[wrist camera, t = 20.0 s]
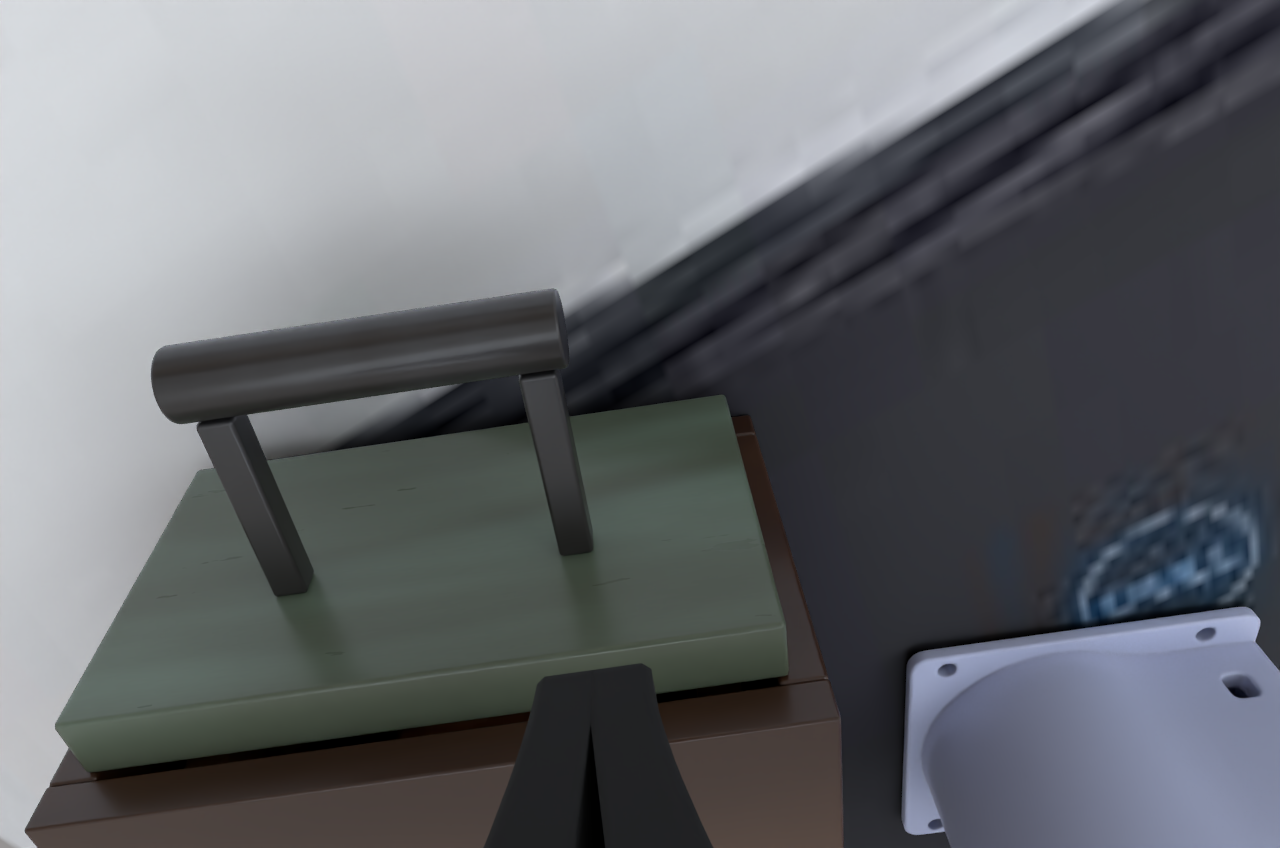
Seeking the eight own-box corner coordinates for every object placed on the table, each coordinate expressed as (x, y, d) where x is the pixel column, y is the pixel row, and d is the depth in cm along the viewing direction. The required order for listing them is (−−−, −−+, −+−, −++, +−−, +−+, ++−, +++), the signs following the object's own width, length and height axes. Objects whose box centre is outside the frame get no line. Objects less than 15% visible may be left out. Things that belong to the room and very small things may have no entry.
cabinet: (204, 491, 22) (22, 831, 14) (749, 412, 21) (841, 718, 14) (373, 839, 29) (309, 1178, 22) (779, 784, 29) (849, 1108, 22)
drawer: (96, 262, 18) (-130, 478, 12) (704, 171, 17) (769, 347, 12) (365, 818, 27) (311, 1087, 21) (761, 764, 27) (812, 1021, 21)
